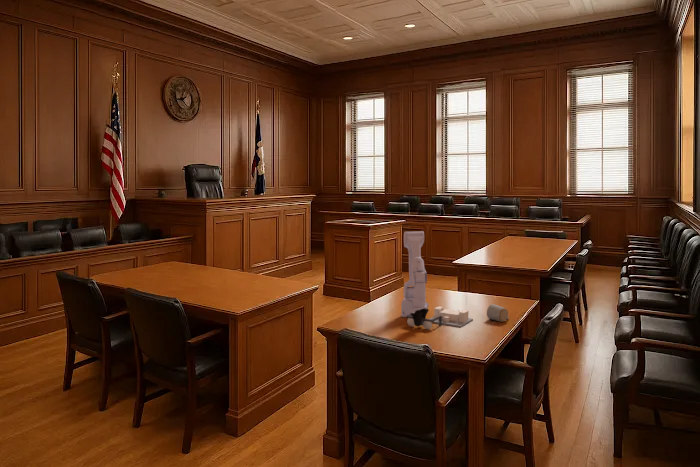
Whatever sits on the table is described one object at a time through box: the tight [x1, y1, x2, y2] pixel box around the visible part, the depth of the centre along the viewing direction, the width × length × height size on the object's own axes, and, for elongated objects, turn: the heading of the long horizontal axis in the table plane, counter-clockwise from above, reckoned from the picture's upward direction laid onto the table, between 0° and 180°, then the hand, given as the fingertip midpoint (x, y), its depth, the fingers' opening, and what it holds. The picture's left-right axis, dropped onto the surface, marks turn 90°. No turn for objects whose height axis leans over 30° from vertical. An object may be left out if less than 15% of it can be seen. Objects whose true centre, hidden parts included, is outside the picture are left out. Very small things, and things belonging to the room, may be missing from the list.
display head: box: [429, 305, 474, 329], centre depth 252 cm, size 15×18×6 cm
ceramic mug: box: [486, 303, 510, 323], centre depth 253 cm, size 11×8×8 cm
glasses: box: [405, 314, 443, 330], centre depth 245 cm, size 10×14×5 cm
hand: (419, 324), depth 242 cm, fingers open, 4 cm apart
